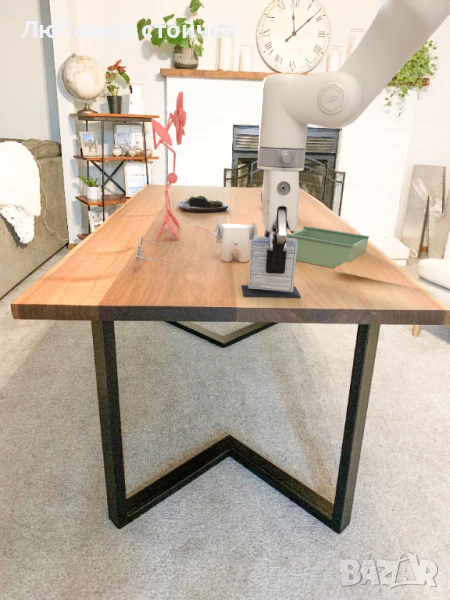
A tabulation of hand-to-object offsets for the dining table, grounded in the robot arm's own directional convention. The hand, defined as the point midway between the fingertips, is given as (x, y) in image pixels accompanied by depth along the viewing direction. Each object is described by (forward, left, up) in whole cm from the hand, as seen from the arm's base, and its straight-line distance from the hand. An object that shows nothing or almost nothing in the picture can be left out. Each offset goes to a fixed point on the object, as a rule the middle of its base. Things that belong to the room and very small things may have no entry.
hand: (272, 266), depth 78 cm
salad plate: (+60, -60, -5) cm, 85 cm away
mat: (0, 0, -5) cm, 5 cm away
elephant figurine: (+17, -15, -5) cm, 23 cm away
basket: (+1, -28, -5) cm, 28 cm away
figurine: (+39, -24, -5) cm, 46 cm away
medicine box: (0, 0, -4) cm, 4 cm away
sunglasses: (+27, 0, -5) cm, 28 cm away
